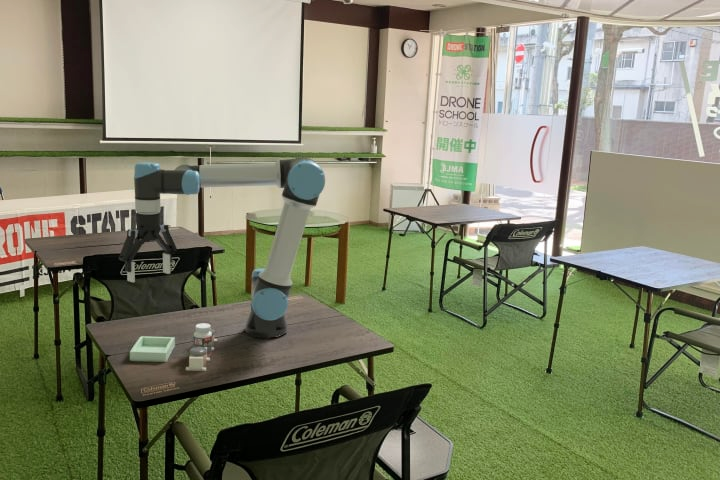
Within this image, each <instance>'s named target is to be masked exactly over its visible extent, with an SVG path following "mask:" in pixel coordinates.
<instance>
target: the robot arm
mask: <svg viewBox="0 0 720 480" xmlns="http://www.w3.org/2000/svg"><path fill="white" fill-rule="evenodd" d="M133 174H134V177H133V181H134V183H133V184H134V210H135V214H134V215H135V224H136V225H135V226H136V229H130V228H128V229H127V230H126V231H127V232H126V237H125V241H124V243H123V245H122V249H121V251H120V254H119V255H118V260H119V261H122V262H124V271H125V272H126V274H127V275H126V276H127V277H126V278H127V279H126V280H127V282H130V283H135V282H136V277H135V275H136V274H135V272H136V271H135V261H134V258H135V257H136V255H137V253H138V252H139V250H140V249H141V247H142V246H143V245H144V244H145V243H149V242H156V243H157V245H158V246H159V247H160V248H161V249H162V251H164V252H162V272H163V274H167V275H170V274H171V263H172V262H173V260H172V255H174V254H175V252H176V251H177V250H178V249H177V246H176V244H175V242H174V240H173V237H172V234H171V233H170V230H169V229H170V228H169V225H168V224H164V223H161V220H162V219H161V216H162V214H161V213H160V212H161V208H162V207H161V194H162V195H163V194H164V195H165V194H166V195H186V196H189V195H198V194H199V193H200V189H201V188H225V187H227V188H229V187H233V188H234V187H256V186H257V187H260V186H261V187H262V186H265V187H266V186H277V187H278V188H279V189H283V190H282V192H281V193H282V194H281V197H282V198H283V199H282V200H283V201H284V203H283V206H282V210H281V213H280V218H279V220H278V223H277V224H278V225H277V227H276V231H275V234H274V237H273V241H272V244H271V249H270V251H269V255H268V258H267V262H266V265H265V267H264V268H261V267H260V268H256V269H253V270H252V273H251V290H250V291H251V293H250V297H251V298H250V311H249V314H248V317H247V320H246V323H245V326H244V331H245V333H246V334H247V335H248V336H251V337H253V338H257V337H258V338H257V339H270V338H269V337H276V336H279V335H282V334H284V333H286V332H287V333H288V331H287V330H288V322H287V318H286V312H287V310H288V308H289V296H290V295H291V290H292V288H293V284H294V283H293V281H292V278H291V274H292V271H293V267H294V264H295V261H296V257H297V254H298V251H299V247H300V244H301V241H302V238H303V234H304V231H305V228H306V225H307V221H308V217H309V214H310V211H311V209H313V208H315V207H317V203H318V201H319V198H320V195H321V193H322V192H323V190H324V189H325V184H326V176H325V172H324V170H323V168H322V167H321V166H320V165H319V164H318V163H317V162H316V161H314V160H313V159H311V158H308V157H303V156H302V157H295V158H288V159H278V160H277V161H276V162H268V163H267V162H264V163H263V162H262V163H261V162H260V163H230V164H227V163H225V164H202V165H194V164H193V165H189V164H180V165H179V166H177V167H175V169H163V168H162V169H161V167H160V164H159V163H158V162H151V161H143V162H137V163H135V165H134V173H133ZM160 233H161V234H162V236H161V235H160ZM287 333H286V334H287Z"/></svg>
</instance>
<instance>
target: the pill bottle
mask: <svg viewBox="0 0 720 480" xmlns="http://www.w3.org/2000/svg"><path fill="white" fill-rule="evenodd" d="M211 327H212V326H211V324H209V323H204V322H202V323H197V324H196V325H195V331H194V333H193V341H192V342H193V344H192V348H194V347H207V358H209V357H210V356H211V355H212V333H211V332H210V329H212V328H211Z"/></svg>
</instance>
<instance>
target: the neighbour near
mask: <svg viewBox="0 0 720 480" xmlns="http://www.w3.org/2000/svg"><path fill="white" fill-rule="evenodd" d="M189 357H203V367H207V362H208V361H207V358H208V357H207V349H206V348H204V347H194V348H193V347H191V348H190V349H189Z"/></svg>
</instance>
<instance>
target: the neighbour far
mask: <svg viewBox="0 0 720 480" xmlns="http://www.w3.org/2000/svg"><path fill="white" fill-rule="evenodd" d="M210 332H211V333H212V347H214V346H215V342H214V339H215V332H216V331H215V329H213V328H211V329H210Z"/></svg>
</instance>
